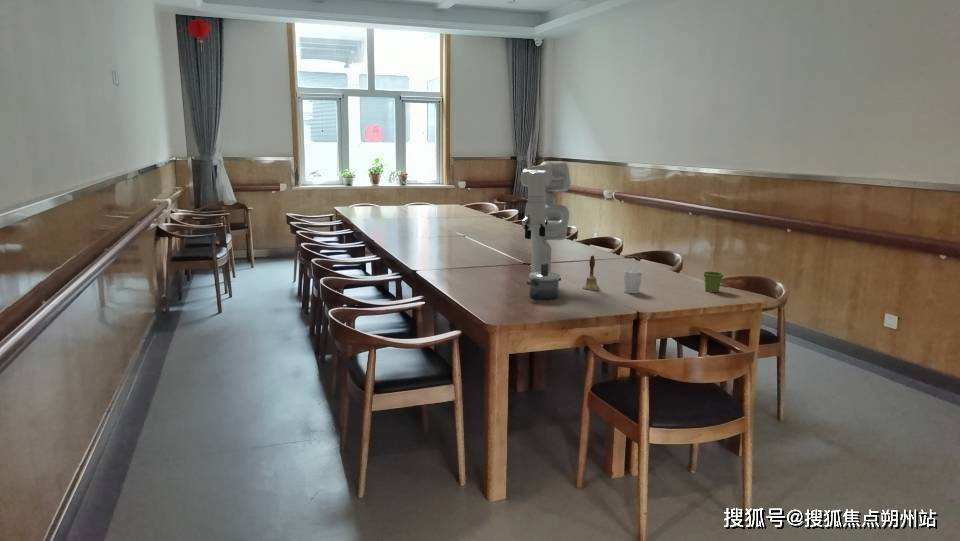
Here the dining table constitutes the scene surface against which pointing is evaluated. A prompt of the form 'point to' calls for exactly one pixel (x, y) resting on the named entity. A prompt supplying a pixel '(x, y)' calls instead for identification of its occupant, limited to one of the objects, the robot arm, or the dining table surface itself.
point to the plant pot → (712, 281)
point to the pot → (543, 289)
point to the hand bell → (591, 277)
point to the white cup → (632, 281)
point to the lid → (544, 274)
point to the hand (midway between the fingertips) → (535, 237)
